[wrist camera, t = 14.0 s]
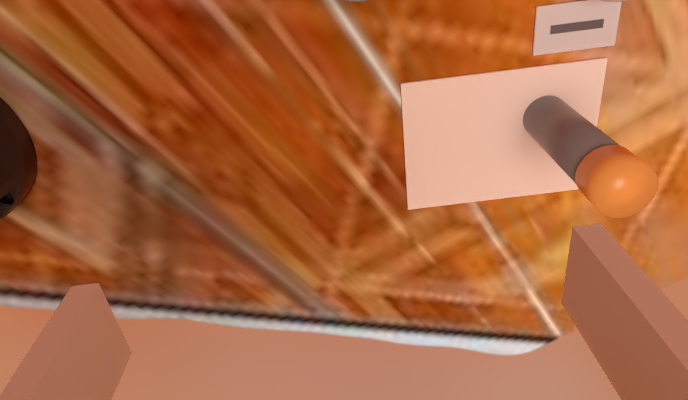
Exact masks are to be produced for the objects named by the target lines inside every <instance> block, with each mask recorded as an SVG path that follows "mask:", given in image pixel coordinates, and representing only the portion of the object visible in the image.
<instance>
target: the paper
mask: <svg viewBox="0 0 688 400" xmlns="http://www.w3.org/2000/svg"><path fill="white" fill-rule="evenodd" d="M606 65H607V58H606V57H604V58H596V59H588V60H580V61H572V62H564V63H556V64H548V65H540V66H532V67H524V68H516V69H508V70H500V71H492V72H484V73H476V74H468V75H460V76H452V77H444V78H436V79H428V80H420V81H412V82H404V83H400V86H401V104H402V121H403V139H404V156H405V173H406V191H407V208H408V210H410V209H418V208H426V207H435V206H443V205H451V204H460V203H468V202H476V201H485V200H493V199H501V198H510V197H518V196H526V195H535V194H543V193H551V192H559V191H568V190H576V189H578V187H577V185H576V184H575V182H574V181H573V180H572V179H571V178H570V177H569V176H568V175H567V174H566V173H565V172H564V171H563V170H562V169H561V167H560V166H559V165H558V164H557V163H556V162H555V161H554V160H553V159H552V158H551V157H550V156H549V155H548V154H547V153H546V151H545V150H544V149H543V148H542V147H541V146H540V145H539V144H538V143H537V142H536V141H535V140H534V139H533V138H532V137H531V135H530V134H529V133H528V132H527V131H526V130H525V128H524V126H523V116H524V113H525V111H526V109H527V107H528V106H529V105H530V104H531V103H532V102H533V101H534V100H536V99H538V98H540V97H543V96H548V95H551V96H556V97H558V98H560V99H561V100H563V101H564V102H565V103H566V104H568V105H569V106H570V107H572V108H573V109H574V110H575V111H577V112H578V113H579V114H580V115H582V116H583V117H584V118H586V119H587V120H588V121H589V122H591V123H592V124H593V125H594V126H596V127H597V122H598V116H599V110H600V103H601V97H602V90H603V84H604V78H605V71H606Z"/></svg>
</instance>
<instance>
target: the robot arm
mask: <svg viewBox="0 0 688 400" xmlns="http://www.w3.org/2000/svg"><path fill="white" fill-rule="evenodd" d="M35 176H36V157H35V152H34V148H33V145H32V142H31V140H30V138H29V135H28V133H27V131H26V130H25V128H24V126H23V125H22V123H21V122H20V120H19V119H18V117H17V116H16V115H15V114H14V112H13V111H12V110H11V109H10V108H9V107H8V106H7V105H6V104H5V103H4V102H3V101H2V100H1V99H0V219H2V218H3V217H5V216H6V215H8V214H9V213H10V212H11V211H12V210H14V209H15V208H16V207H17V206H18V205H19V204H20V203H21V202H22V201H23V200H24V199H25V197H26V196H27V195H28V193H29V192H30V190H31V188H32V186H33V184H34V180H35ZM562 304H563V306H564V307H565V309H566V311H567V312H568V314H569V315H570V317H571V319H572V320H573V322H574V324H575V325H576V327H577V328H578V330H579V331H580V333H581V335H582V337H583V338H584V340H585V341H586V343H587V345H588V346H589V348H590V349H591V351H592V353H593V354H594V356H595V358H596V359H597V361H598V362H599V364H600V366H601V367H602V369H603V371H604V372H605V374H606V375H607V377H608V379H609V380H610V382H611V384H612V385H613V387H614V388H615V390H616V392H617V393H618V395H619V396H620V398H621V400H688V320H687V319H686V318H685V316H684V315H683V314H682V313H681V312H680V311H679V310H678V309H677V308H676V307H675V305H674V304H673V303H672V302H671V301H670V300H669V299H668V298H667V296H666V295H665V294H664V293H663V292H662V291H661V290H660V289H659V288H658V286H657V285H656V284H655V283H654V282H653V281H652V280H651V279H650V277H649V276H648V275H647V274H646V273H645V272H644V271H643V270H642V269H641V267H640V266H639V265H638V264H637V263H636V262H635V261H634V260H633V259H632V257H631V256H630V255H629V254H628V253H627V252H626V251H625V250H624V249H623V247H622V246H621V245H620V244H619V243H618V242H617V241H616V240H615V239H614V237H613V236H612V235H611V234H610V233H609V232H608V231H607V230H606V229H605V227H604V226H603V225H602V224H601V223H600V224H592V225H583V226H575V227H573V228H572V235H571V242H570V249H569V255H568V262H567V269H566V276H565V283H564V290H563V297H562ZM130 355H131V350H130V348H129V346H128V344H127V342H126V340H125V338H124V336H123V333H122V331H121V329H120V327H119V325H118V323H117V321H116V319H115V317H114V314H113V312H112V310H111V308H110V306H109V304H108V302H107V300H106V298H105V295H104V293H103V291H102V289H101V287H100V285H99V283H95V284H86V285H78V286H71V288H70V289H69V291H68V292H67V294H66V295H65V297H64V298H63V300H62V301H61V303H60V305H59V306H58V308H57V309H56V311H55V312H54V314H53V315H52V317H51V318H50V320H49V321H48V323H47V324H46V326H45V327H44V329H43V331H42V332H41V333H40V335H39V337H38V338H37V340H36V341H35V343H34V344H33V346H32V347H31V349H30V350H29V352H28V353H27V355H26V356H25V358H24V359H23V361H22V362H21V364H20V366H19V367H18V369H17V370H16V372H15V373H14V375H13V376H12V378H11V379H10V381H9V382H8V384H7V385H6V387H5V388H4V390H3V391H2V393H1V395H0V400H111V399H112V397H113V395H114V393H115V390H116V388H117V386H118V383H119V381H120V378H121V376H122V374H123V371H124V369H125V367H126V364H127V362H128V359H129V357H130Z"/></svg>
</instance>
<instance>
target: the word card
mask: <svg viewBox="0 0 688 400" xmlns="http://www.w3.org/2000/svg"><path fill="white" fill-rule="evenodd" d="M621 3H622V2H616V3H611V2H605V1H602V0H582V1H574V2H566V3H558V4H550V5H543V6H536V12H535V25H534V37H533V50H532V55H533V56H534V55H542V54H550V53H558V52H566V51H574V50H582V49H590V48H598V47H606V46H614V45H615V40H616V34H617V28H618V21H619V15H620V9H621Z"/></svg>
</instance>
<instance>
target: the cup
mask: <svg viewBox="0 0 688 400" xmlns="http://www.w3.org/2000/svg"><path fill="white" fill-rule="evenodd" d="M345 1H351V2H360V1H368V0H345Z"/></svg>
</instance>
